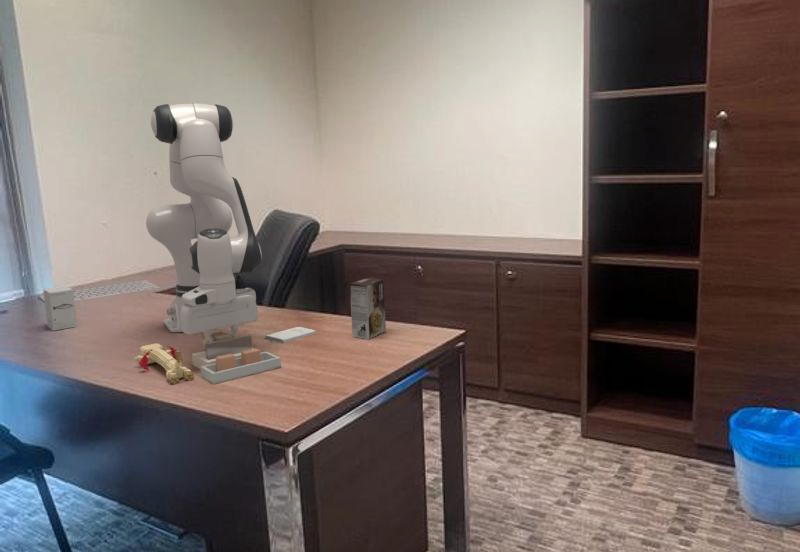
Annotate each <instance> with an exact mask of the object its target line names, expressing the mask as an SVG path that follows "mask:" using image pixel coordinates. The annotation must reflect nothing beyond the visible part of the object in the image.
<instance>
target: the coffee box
mask: <svg viewBox="0 0 800 552" xmlns="http://www.w3.org/2000/svg"><path fill="white" fill-rule="evenodd" d="M384 283H385V282H384V279H383V278H382V279H380V278H379V279H378V278H375V277H365V278H362V279H359V280H357V281H353V282H351V283H349V293H350V296H349V297H350V312H351V313H350V315H351V332H352V333H351V334H352V338H355V337H358V338H357V339H362V338H365V339H364V340H372V339H373V337H374V338H376V337H377V335H378V334H380V333H382V332H384V333H386V332H385V331H387V329H386V328H387V327H386V325H387V324H386V305H385V304H386V303H385V286H384V285H385V284H384ZM382 334H383V333H382ZM380 335H381V334H380ZM375 336H376V337H375ZM378 336H379V335H378ZM371 338H372V339H371Z"/></svg>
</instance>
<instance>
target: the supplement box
mask: <svg viewBox="0 0 800 552" xmlns="http://www.w3.org/2000/svg"><path fill="white" fill-rule="evenodd" d="M42 291H43V295H44V300H45V302H44V307H45V314H46V322H47V328H49V329H50V330H52V331H53V332H55V331H59V330H64V329H70V328H76V327H78V323H77V315H76V306H75V301H74V296H73V288H71V287H68V286H62V287H54V288H47V289H46V288H45V289H43V290H42Z"/></svg>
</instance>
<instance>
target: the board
mask: <svg viewBox="0 0 800 552" xmlns="http://www.w3.org/2000/svg"><path fill="white" fill-rule="evenodd" d="M252 349H254V348H253V347H252ZM233 355H235V359H236V358H240V357H241V353H237V354H233ZM191 356H192V357H191V360H192V365H193V366H194V367H196V368H197V369H199V370H201V368H200V367H201V366H206V365H210V364H214V363H216V358H214V359H210V360H208V359H206V350H203V351H199V352H194V353H191Z"/></svg>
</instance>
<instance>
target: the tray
mask: <svg viewBox="0 0 800 552" xmlns="http://www.w3.org/2000/svg"><path fill="white" fill-rule="evenodd" d="M235 361H236V367H235V368H231V369H227V370H223V371H219V372H217V367H216V363H214V364H210V365H206V366H201V367H200V368H201V369H200V376H201V378H203V379H205V380H206V381H208V382H210V383H211V384H213V385H216V384H219V383H223V382H228V381H232V380H235V379H239V378H244V377H247V376H252V375H256V374H259V373H264V372H267V371H271V370H276V369H280V368H282V363H281V357H280V356H277V355H276V354H273V353H271V352H269V351H263V352H260V361H261V362H256V363H252V364H248V365H244V366H242V360H241V357H240V358H236V359H235Z"/></svg>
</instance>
